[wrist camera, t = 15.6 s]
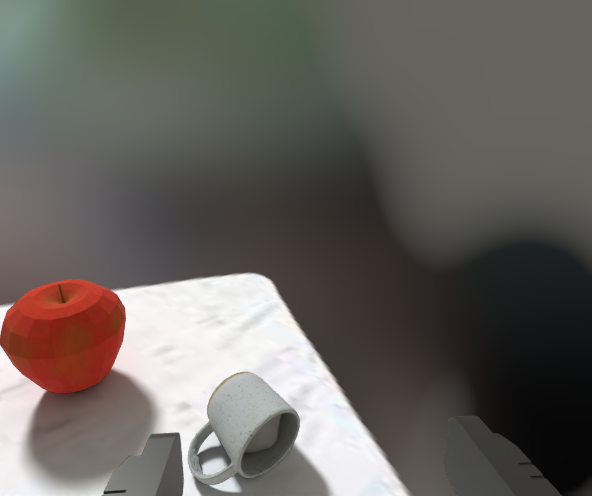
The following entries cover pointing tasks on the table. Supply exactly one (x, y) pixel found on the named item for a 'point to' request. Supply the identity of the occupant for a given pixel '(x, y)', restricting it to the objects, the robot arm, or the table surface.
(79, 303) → the apple
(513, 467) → the robot arm
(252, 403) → the ceramic mug
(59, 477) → the table surface
